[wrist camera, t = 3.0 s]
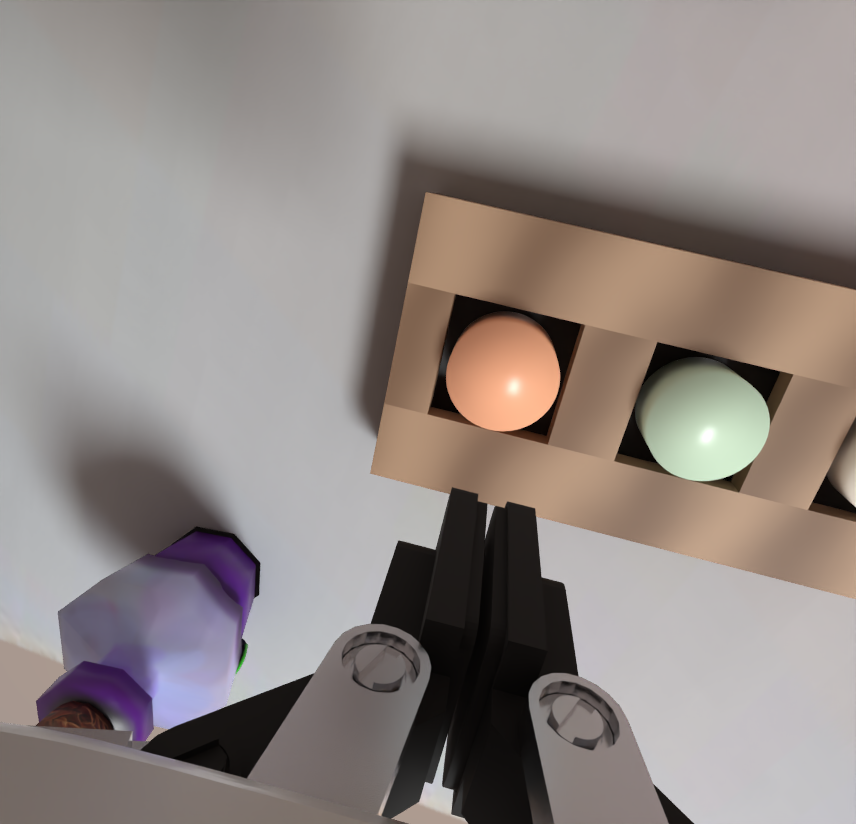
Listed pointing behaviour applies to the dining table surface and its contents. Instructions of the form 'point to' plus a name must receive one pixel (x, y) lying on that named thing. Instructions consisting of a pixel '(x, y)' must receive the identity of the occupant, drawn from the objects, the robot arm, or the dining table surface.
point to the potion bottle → (155, 639)
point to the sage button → (701, 419)
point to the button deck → (631, 389)
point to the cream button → (845, 467)
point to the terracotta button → (503, 372)
